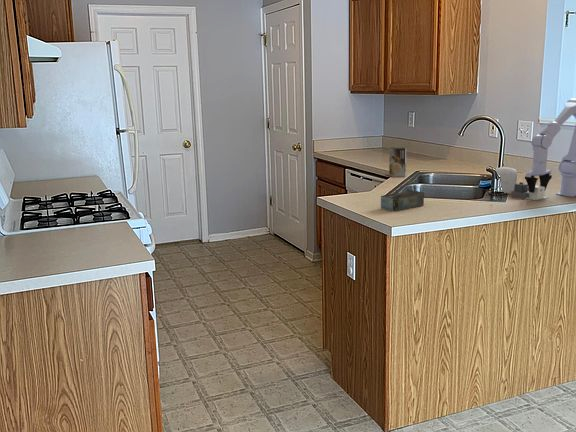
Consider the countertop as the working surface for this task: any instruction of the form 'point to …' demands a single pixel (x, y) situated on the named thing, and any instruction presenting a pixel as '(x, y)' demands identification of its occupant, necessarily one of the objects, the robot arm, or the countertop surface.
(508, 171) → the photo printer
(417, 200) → the beverage carton
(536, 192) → the block
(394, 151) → the coffee box
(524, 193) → the power strip
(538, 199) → the pad
